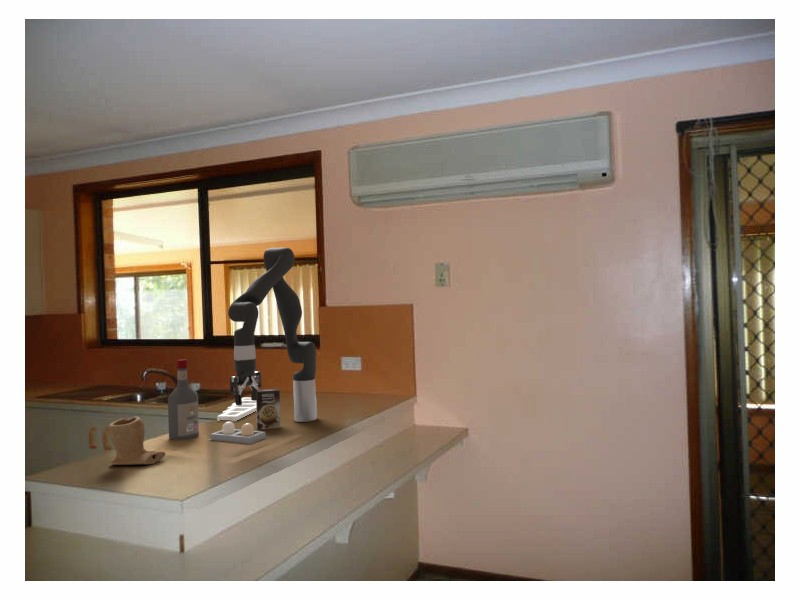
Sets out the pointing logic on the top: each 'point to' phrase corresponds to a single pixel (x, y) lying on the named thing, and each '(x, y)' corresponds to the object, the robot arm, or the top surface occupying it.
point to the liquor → (183, 407)
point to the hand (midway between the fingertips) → (246, 402)
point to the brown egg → (247, 430)
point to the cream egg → (228, 428)
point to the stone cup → (131, 443)
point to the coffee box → (268, 409)
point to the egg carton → (238, 437)
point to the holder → (238, 410)
